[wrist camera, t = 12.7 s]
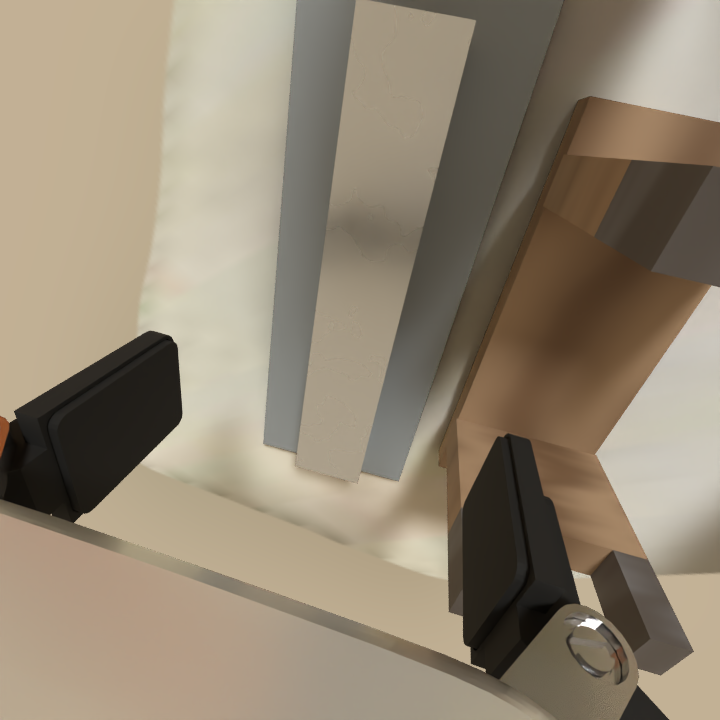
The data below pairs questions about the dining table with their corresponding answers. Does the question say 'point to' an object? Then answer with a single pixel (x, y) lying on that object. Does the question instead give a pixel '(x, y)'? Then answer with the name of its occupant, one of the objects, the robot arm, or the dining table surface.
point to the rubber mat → (444, 215)
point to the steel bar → (376, 218)
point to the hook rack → (594, 341)
